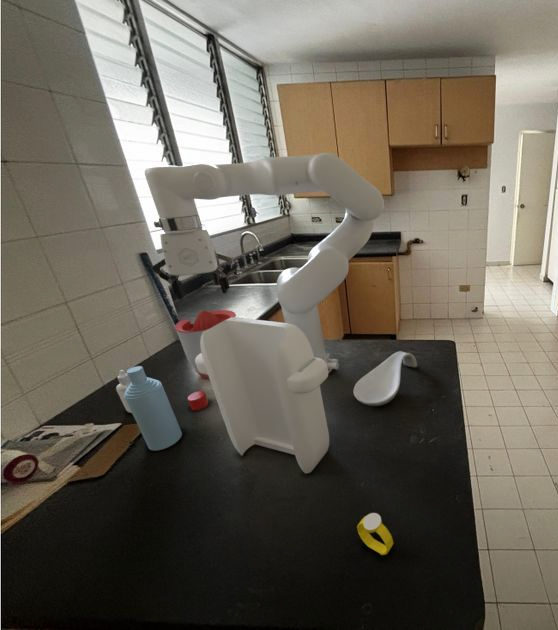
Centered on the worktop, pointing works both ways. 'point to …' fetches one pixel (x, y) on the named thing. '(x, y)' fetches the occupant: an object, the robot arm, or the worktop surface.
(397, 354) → the spoon rest
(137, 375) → the water bottle
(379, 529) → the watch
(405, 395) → the worktop surface
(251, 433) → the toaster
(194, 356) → the citrus juicer
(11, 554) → the worktop surface
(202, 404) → the cap
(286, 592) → the worktop surface
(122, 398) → the eye dropper bottle
